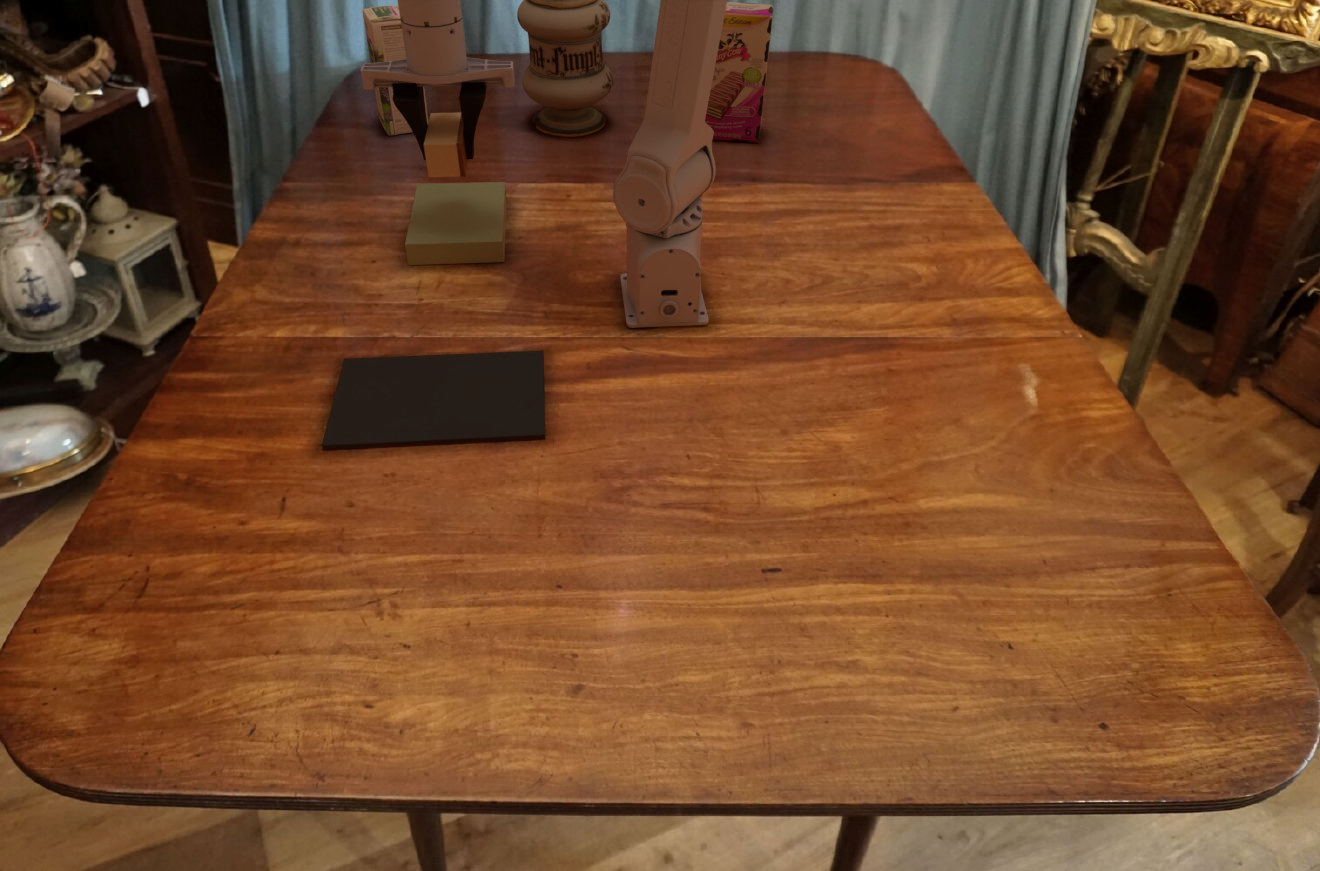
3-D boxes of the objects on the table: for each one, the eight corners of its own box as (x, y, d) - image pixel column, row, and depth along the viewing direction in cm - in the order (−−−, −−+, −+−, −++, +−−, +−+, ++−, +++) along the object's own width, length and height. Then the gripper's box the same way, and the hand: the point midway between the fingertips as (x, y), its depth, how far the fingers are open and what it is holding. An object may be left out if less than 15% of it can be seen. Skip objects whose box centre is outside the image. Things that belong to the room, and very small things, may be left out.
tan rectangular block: (465, 176, 94) (461, 143, 92) (428, 177, 94) (423, 144, 92) (470, 144, 100) (466, 111, 98) (434, 144, 100) (430, 112, 98)
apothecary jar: (514, 112, 130) (502, -28, 118) (595, 100, 134) (592, -36, 122) (540, 146, 122) (531, -1, 110) (626, 133, 125) (626, -11, 114)
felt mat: (545, 438, 78) (544, 434, 77) (322, 450, 76) (321, 445, 76) (543, 354, 87) (543, 350, 86) (344, 362, 85) (343, 358, 85)
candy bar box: (676, 139, 124) (681, 9, 113) (679, 124, 128) (684, -3, 117) (760, 144, 124) (773, 14, 113) (761, 129, 127) (773, 2, 117)
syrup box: (378, 120, 126) (358, 7, 117) (421, 114, 128) (405, 2, 119) (387, 136, 123) (368, 21, 113) (432, 130, 125) (416, 16, 115)
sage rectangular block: (504, 262, 99) (502, 241, 97) (408, 265, 98) (404, 244, 96) (506, 201, 110) (505, 181, 108) (420, 203, 109) (417, 183, 107)
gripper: (510, 4, 91) (520, 138, 100) (358, 5, 90) (382, 141, 99) (508, 27, 86) (519, 166, 95) (347, 29, 85) (374, 170, 94)
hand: (449, 155), depth 97 cm, fingers closed on tan rectangular block, 4 cm apart
